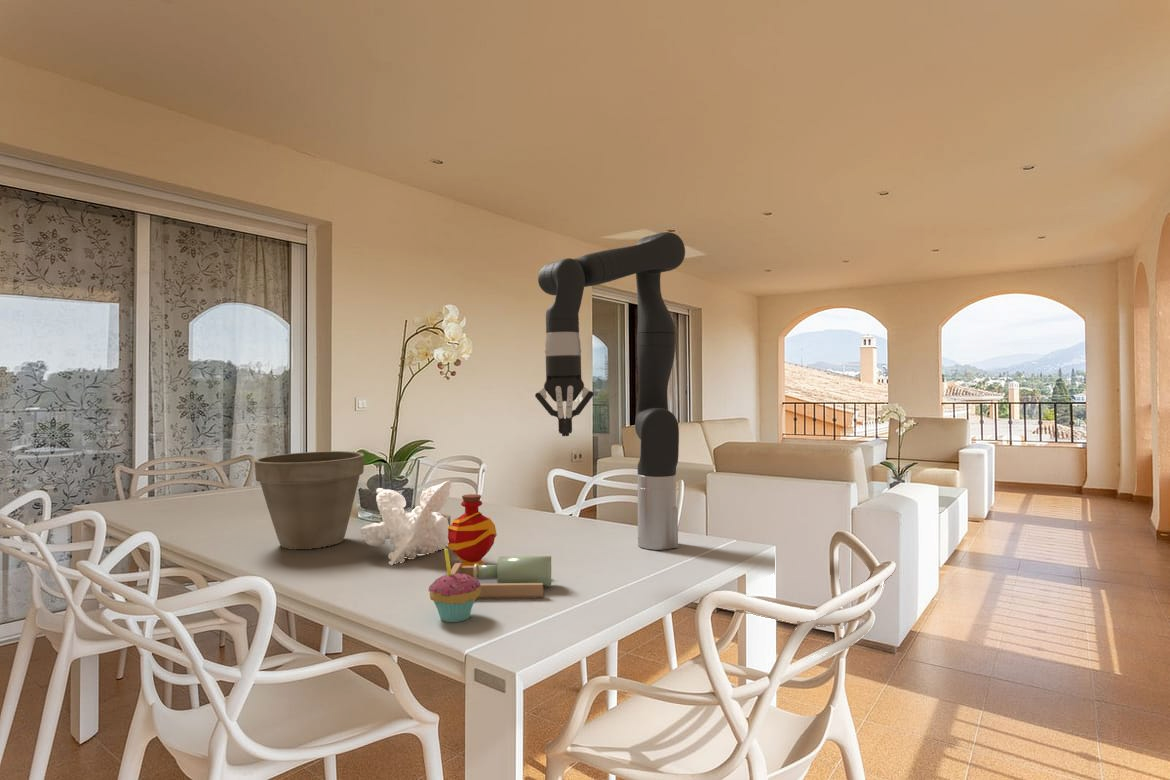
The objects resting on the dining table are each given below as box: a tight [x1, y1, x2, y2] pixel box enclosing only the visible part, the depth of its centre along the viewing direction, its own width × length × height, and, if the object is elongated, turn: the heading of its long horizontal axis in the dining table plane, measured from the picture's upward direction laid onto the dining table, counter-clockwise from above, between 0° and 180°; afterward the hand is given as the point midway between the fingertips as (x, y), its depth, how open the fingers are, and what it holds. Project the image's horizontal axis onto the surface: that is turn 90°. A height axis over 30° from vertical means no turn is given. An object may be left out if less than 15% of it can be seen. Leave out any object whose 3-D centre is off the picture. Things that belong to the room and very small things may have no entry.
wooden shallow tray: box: [451, 562, 545, 600], centre depth 124 cm, size 18×13×3 cm
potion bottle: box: [447, 493, 498, 566], centre depth 140 cm, size 10×10×15 cm
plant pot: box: [253, 450, 365, 550], centre depth 161 cm, size 25×25×22 cm
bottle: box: [473, 555, 552, 586], centre depth 124 cm, size 5×5×15 cm
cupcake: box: [428, 544, 482, 623], centre depth 108 cm, size 9×8×12 cm
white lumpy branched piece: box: [359, 480, 452, 565], centre depth 150 cm, size 19×20×20 cm
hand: (565, 435), depth 138 cm, fingers closed
